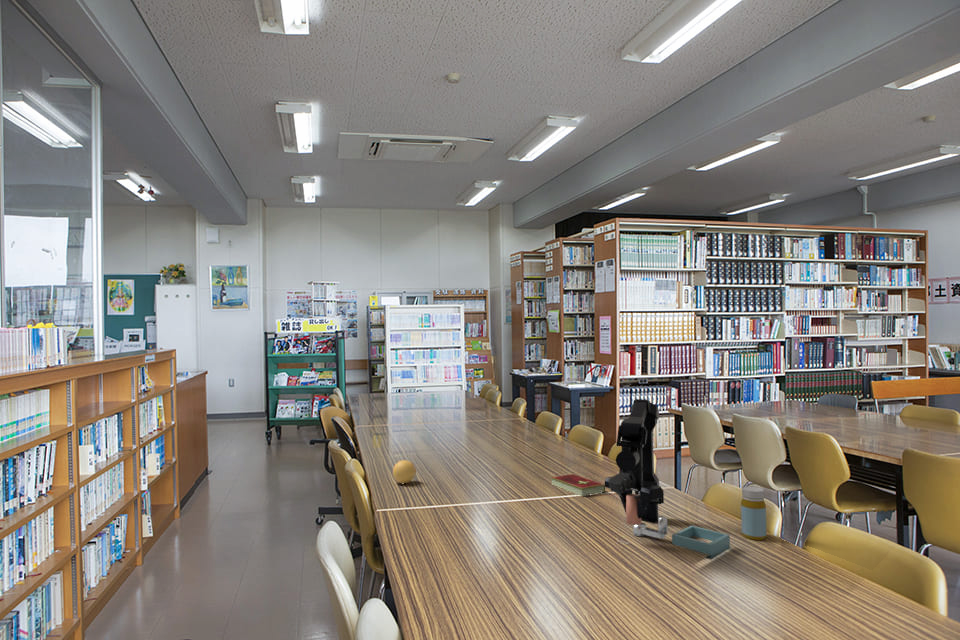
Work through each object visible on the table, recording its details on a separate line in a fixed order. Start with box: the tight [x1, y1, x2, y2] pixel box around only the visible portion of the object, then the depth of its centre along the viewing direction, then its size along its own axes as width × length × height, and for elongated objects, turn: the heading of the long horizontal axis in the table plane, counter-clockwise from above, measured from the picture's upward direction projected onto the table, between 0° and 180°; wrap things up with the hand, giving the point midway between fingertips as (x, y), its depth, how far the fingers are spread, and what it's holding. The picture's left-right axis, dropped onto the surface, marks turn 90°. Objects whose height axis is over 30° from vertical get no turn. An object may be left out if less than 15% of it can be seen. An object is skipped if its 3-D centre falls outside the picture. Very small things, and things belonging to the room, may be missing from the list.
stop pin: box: [625, 493, 642, 526], centre depth 173 cm, size 4×4×8 cm
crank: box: [632, 515, 668, 540], centre depth 177 cm, size 11×4×7 cm, turn 43°
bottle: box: [740, 485, 767, 541], centre depth 181 cm, size 7×7×15 cm
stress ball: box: [392, 459, 417, 484], centre depth 251 cm, size 10×10×10 cm
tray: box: [671, 525, 731, 560], centre depth 171 cm, size 12×12×4 cm
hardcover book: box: [550, 473, 606, 497], centre depth 239 cm, size 12×21×4 cm, turn 29°
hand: (633, 516), depth 173 cm, fingers closed on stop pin, 4 cm apart
